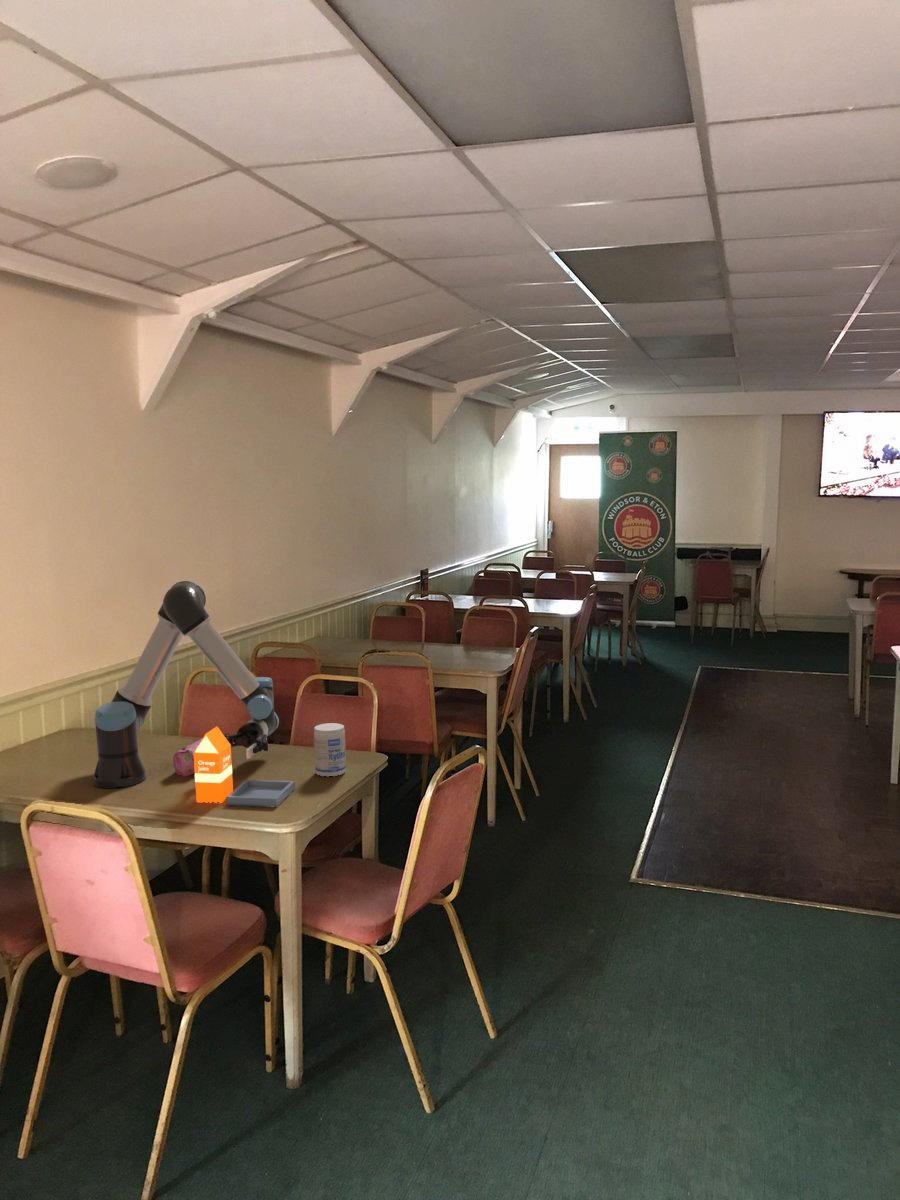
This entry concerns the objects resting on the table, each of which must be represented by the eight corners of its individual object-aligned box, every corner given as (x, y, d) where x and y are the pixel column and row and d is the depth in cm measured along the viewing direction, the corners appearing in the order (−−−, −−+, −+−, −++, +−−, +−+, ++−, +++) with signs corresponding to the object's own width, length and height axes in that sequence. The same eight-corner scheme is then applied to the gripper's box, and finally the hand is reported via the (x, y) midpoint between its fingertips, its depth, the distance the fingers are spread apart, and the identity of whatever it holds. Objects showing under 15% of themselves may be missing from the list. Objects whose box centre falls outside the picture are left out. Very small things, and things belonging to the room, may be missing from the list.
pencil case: (196, 778, 284) (194, 750, 283) (169, 776, 286) (168, 748, 285) (229, 757, 304) (228, 731, 303) (204, 756, 307) (203, 729, 305)
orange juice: (196, 802, 262) (191, 734, 259) (208, 791, 271) (204, 725, 268) (222, 803, 261) (218, 734, 258) (234, 792, 270) (230, 726, 267)
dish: (226, 805, 259) (225, 796, 259) (246, 787, 274) (246, 779, 273) (277, 807, 256) (276, 798, 256) (295, 789, 271) (294, 781, 271)
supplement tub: (333, 779, 279) (331, 732, 277) (309, 775, 284) (306, 728, 282) (352, 770, 287) (350, 724, 285) (328, 766, 292) (326, 721, 290)
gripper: (290, 745, 290) (266, 767, 270) (215, 743, 295) (186, 764, 274) (289, 722, 289) (265, 742, 269) (214, 721, 293) (185, 740, 273)
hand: (225, 753), depth 271 cm, fingers open, 13 cm apart
